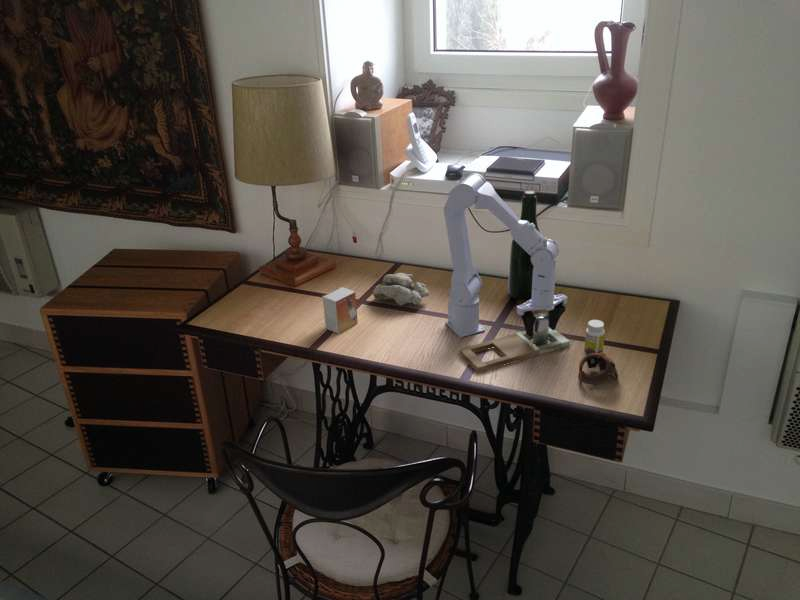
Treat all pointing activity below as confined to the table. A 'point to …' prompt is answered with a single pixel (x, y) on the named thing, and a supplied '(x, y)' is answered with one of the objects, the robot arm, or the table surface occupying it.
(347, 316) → the small box
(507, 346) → the board with square holes
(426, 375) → the table surface
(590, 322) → the supplement bottle
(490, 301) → the table surface
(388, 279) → the mineral
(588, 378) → the pottery mug
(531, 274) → the dark green wine bottle
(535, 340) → the peg
